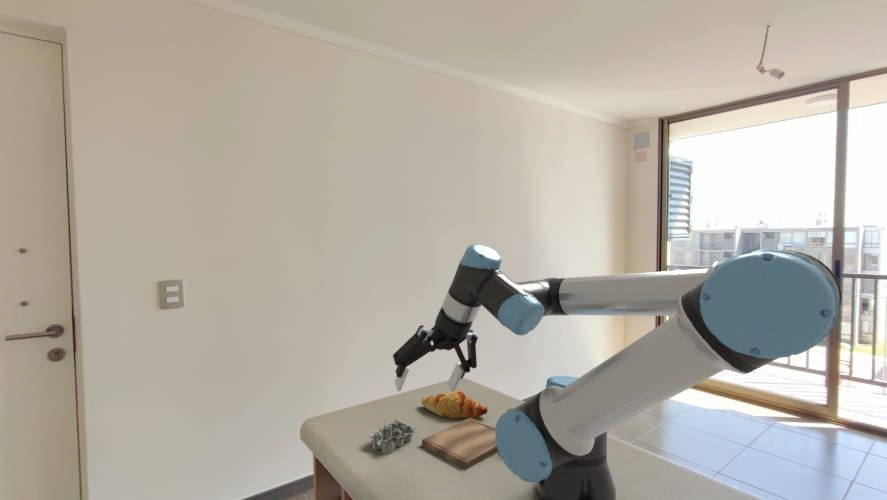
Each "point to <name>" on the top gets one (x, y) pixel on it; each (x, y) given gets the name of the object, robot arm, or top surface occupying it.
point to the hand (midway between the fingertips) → (424, 387)
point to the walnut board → (464, 442)
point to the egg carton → (399, 436)
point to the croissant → (454, 405)
